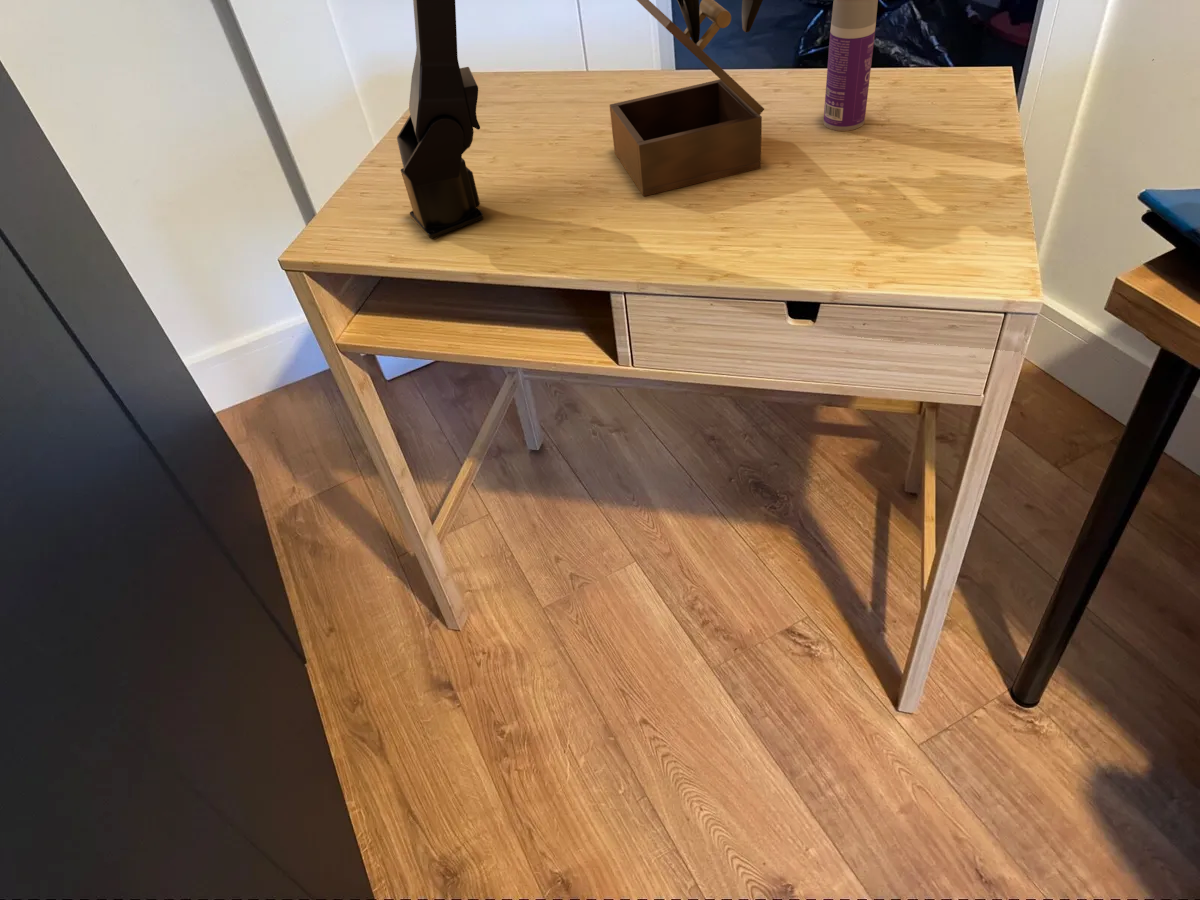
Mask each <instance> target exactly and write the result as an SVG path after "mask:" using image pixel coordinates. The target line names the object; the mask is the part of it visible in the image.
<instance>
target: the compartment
mask: <svg viewBox="0 0 1200 900" xmlns="http://www.w3.org/2000/svg"><path fill="white" fill-rule="evenodd" d="M609 113H610V122H611V123H610V124H611V131H612V133H611V134H612V140H613V141H612V142H613V150H614V155H615V156H616V157H617V159H618V160H619V162H620V163H621V165H622V166H623V167H624V170H625V171H626V172H627V174H628V175H629V177H630V178H631V180H632V181H633V183H634V184H635V186H636V187H637V189H638V190H639V192H640V194H641V195H642V196H643V197H647V196H651V195H656V194H660V193H664V192H667V191H673V190H676V189H681V188H684V187H689V186H692V185H696V184H701V183H705V182H709V181H713V180H717V179H721V178H725V177H730V176H734V175H738V174H742V173H746V172H747V173H748V172H751V171H755V170H759V169H761V166H762V165H761V162H762V127H763V126H762V125H763V124H762V123H763V116H762V115H761V114H760V115H758V114H757V113H756V112H755V111H754V110H753V109H752V108H751V107H750V106H749V105H748V104H747V103H745V102H744V101H743V100H742V99H741V98H740V97H739V96H738V95H737V94H736V93H735V92H734V91H733V90H731V89H730V88H729V87H728V86H727V85H726V84H725V83H724V82H723V81H722V80H721V79H720V78H719V79H714V80H711V81H707V82H702V83H698V84H693V85H688V86H685V87H681V88H676V89H672V90H668V91H663V92H658V93H653V94H650V95H644V96H642V97H641V96H640V97H637V98H633V99H628V100H623V101H619V102H615V103H611V104H609Z"/></svg>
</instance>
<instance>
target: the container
mask: <svg viewBox="0 0 1200 900" xmlns="http://www.w3.org/2000/svg"><path fill="white" fill-rule="evenodd" d="M878 2H879V0H833V3H832V11H831V22H830V31H829V42H828V44H829V45H828V55H827V56H828V57H827V58H828V59H827V69H826V82H825V95H824V109H823V122H822V123H823V125H824V127H825V128H827V129H829V130H832V131H836V132H849V131H854V130H857V129H859V128H861V127H862V126H864V124H865V123H866V122H865V120H866V112H867V106H868V105H867V104H868V98H869V97H868V95H869V87H870V79H871V71H872V62H873V53H874V44H875V36H876V25H877V15H878V14H877V13H878Z"/></svg>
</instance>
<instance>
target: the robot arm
mask: <svg viewBox="0 0 1200 900" xmlns="http://www.w3.org/2000/svg"><path fill="white" fill-rule="evenodd" d="M676 1H677V3H678V6H679V8H680V12H681V15H682V17H683V20H684V22H685V25H686V28H688V31H689V34H690V36H691V37H690V39H691V40H692V41H693V42H694V43H695V44H697V43H698V41H699V40H700V36H701V24H700V14H699V11H700V0H676ZM763 1H764V0H742V1H741V27H742V31H743V32H745V33H749V32H750V31H751V29H752V27H753V25H754V22H755V20H756V17H757V16H758V13H759V10H760V8H761V6H762V3H763ZM412 2H413V3H412V4H413V17H414V31H415V44H416V47H415V48H416V50H415V58H414V62H413V66H412V67H413V68H412V72H411V78H410V79H411V80H410V81H411V82H410V91H409V102H408V111H409V116H408V117H407V120H405V122H404V123H403V126H402V127H401V129H400V131H399V133H398V134H397V136H396V141H397V146H398V151H399V155H400V159H401V164H402V168H400V173H401V176H402V180H403V182H404V186H405V190H406V192H407V196H408V199H409V202H410V205H411V209H412V210H411V211H410V212H409V215H410V218H411V220H412V221H414V222H415V224H416V225H417V226H418V227H419V228H420V229H421V230H422V231H423V232H424V234H425V235H426V236H427V237H428V238H430V239H434V238H436V237H439V236H442V235H444V234H448V233H450V232H452V231H455V230H457V229H461V228H463V227H465V226H468V225H471V224H473V223H475V222H478V221H481V220H483V219H484V213H483V212H482V211H481V210H480V209H479V207H480V205H481V201H480V198H479V194H478V190H477V185H476V181H475V177H474V173H473V171H472V170H471V169H470V168H469V167H468V166H467V164H466V161H465V159H464V158H463V154H465V152H466V151H467V150H468V149H469V148H470V147H471V146H472V143H473V140H474V133H475V132H474V129H476V130H480V129H481V126H480V123H479V121H478V117H477V105H478V98H479V86H478V83H477V81H476V79H475V78H474V75H473V73H472V71H471V68H470V67H469V66H464V67H460V63H459V58H458V38H457V37H458V34H457V9H456V0H412Z"/></svg>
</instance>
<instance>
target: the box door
mask: <svg viewBox="0 0 1200 900" xmlns="http://www.w3.org/2000/svg"><path fill="white" fill-rule="evenodd" d="M636 1H637V2H638V3H639V4H640V5H641V6H642V7H643V8H644V9H645V10H646V11H647V12H648V13H649V14H650V15H651V16H652V17H653V18H654V19H655V20H657V21H658V22H659V23H660V24H661V26H662V27H664V29H666V31H668V32H669V33H670V34H671V35H672V36H673V37H674V38H675V39H676V40H678V42H680V43H681V44H682V45H683V46H684V47H685V48H686V49H687V50H689V51H690V53H692V54H693V55H694V56H695V57H696V59H698V60H699V61H700V62H701V63H702V64H703V65H704V66H705V67H707V69H709V70H710V71H711V72H712V73H713V74H714V75H715V76H716V77H718V78H719V79H721V80H722V81H723V82H724V83H725V84H726V85H727V86H728V87H729V88H730V89H731V90H733V91H734V92H735V93H736V94H737V95H738V96H739V97H740V98H741V99H742V100H743V101H744V102H745V103H747V104H748V105H749V106H750V107H751V108H752V109H753V110H754V111H755V112H756V113H757V114H758V115H761V114H762V113H763V112H764V111H765V108H764V107H763V105H761V104H760V103H759V102H758V101H757V100H756V99H755V98H754V97H753V96H751V94H750V93H749V92H748V91H746V90H745V88H743V87H742V86H741V84H739V83H738V82H737V81H736V80H734V78H732V77H731V75H730V74H728V73H727V72H726V71H725V70H724V69H723V68H722V67H721V66H720V65H719V64H718V63H717V62H715V61H714V60H713V59H712V58H711V57H710V56H709V55H708V54H707V53H706V52H705V51H704V50H705V48H706V47H707V46H708V44H709V43H710V42H711V41H712V39H713V38H714V37H715V35H716V34H717V33H718V32H719V30H720V29H725V28H727V27H728V26H730V24H731V22H732V15H731V13H730V11H728V10H727V9H726V8H724V7H723V6H722V5H721V4H720V3H718V2H717V1H716V0H701V1H700V2H699V14H700V25H701V24H702V23H703V22H704V20H705V19H706V18H707V19H708V20H710V21H711V22H712V23H711V24H710V25H709V27H708V28H707V30H705V32H704V33H703V35H702V36H701V37H700V38H699V41H698V43H697V44H695V43H694V42H693V41H692V39H691V36H690V34H689V31H688V28H687V27H686V28H685V29H684V31H683V30H682V29H681V28H680V27H678V25H676V24H675V23H674V22H673V21H672V20H671V19H670V18H669V17H668V16H667V15H666V14H665V13H664V12H662V11H661V10H660V9H659V8H658V7H657V6H656V5H655V4H654V3H653V2H652V1H651V0H636Z"/></svg>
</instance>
